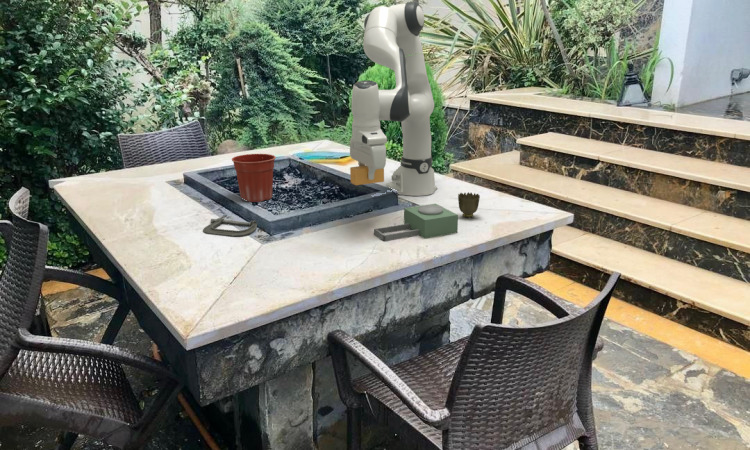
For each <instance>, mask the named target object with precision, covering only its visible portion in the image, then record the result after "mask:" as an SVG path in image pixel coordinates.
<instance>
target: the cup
mask: <svg viewBox="0 0 750 450" xmlns="http://www.w3.org/2000/svg"><path fill="white" fill-rule="evenodd" d="M457 201H458V208H459V211H460V212H461V213H462V217H463V218H465V219H471V218H473V217H474V214H475V213H476V212H477V211H478V208H479V203H480V194H479V193H476V192H474V193H472V192H469V191H468V192H467V193H466V192H464V193H463V192H460V193H458V195H457Z"/></svg>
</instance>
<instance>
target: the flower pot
mask: <svg viewBox="0 0 750 450" xmlns="http://www.w3.org/2000/svg"><path fill="white" fill-rule="evenodd" d="M276 158H277V157H276V156H275V155H274V154H269V153H248V154H240V155H236V156H234V157H232V158H231V160H232V162H233V167H234V171H235V173H236V178H237V185H238V190H239V195H240V199H241V198H243V199H245V200H247V201H249V203H257V202H258V203H259V202H264V201H265V200H266V201H269V200H271V199H272V198H273V188H274V187H273V185H274V184H273V183H274V168H275V160H276ZM245 200H244V201H245ZM247 201H246V202H247Z"/></svg>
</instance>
